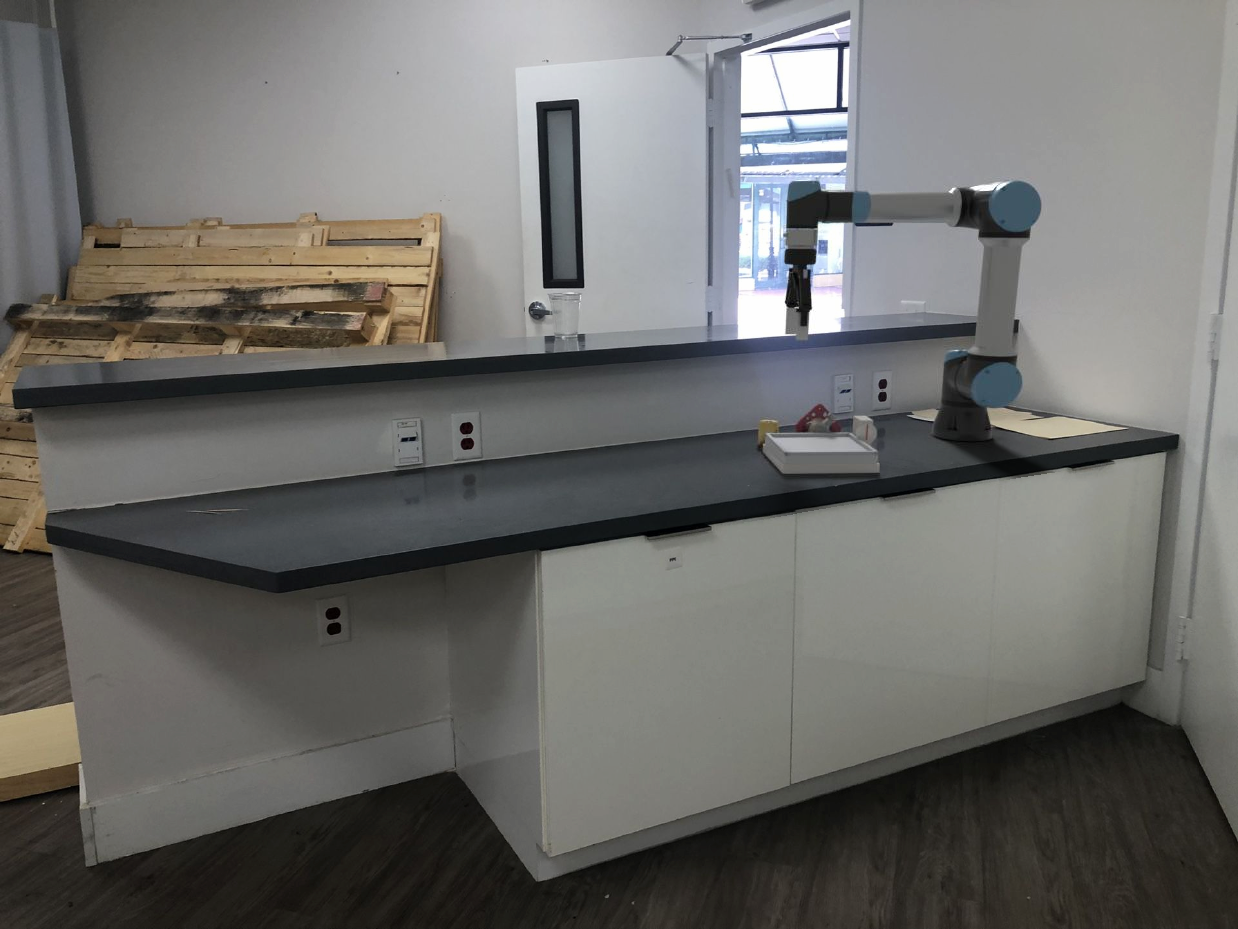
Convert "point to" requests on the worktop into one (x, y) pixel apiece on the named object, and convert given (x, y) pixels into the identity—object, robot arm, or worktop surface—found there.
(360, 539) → the worktop surface
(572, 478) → the worktop surface
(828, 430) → the brake caliper
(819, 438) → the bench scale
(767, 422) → the brass spacer
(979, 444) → the worktop surface
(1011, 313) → the robot arm
